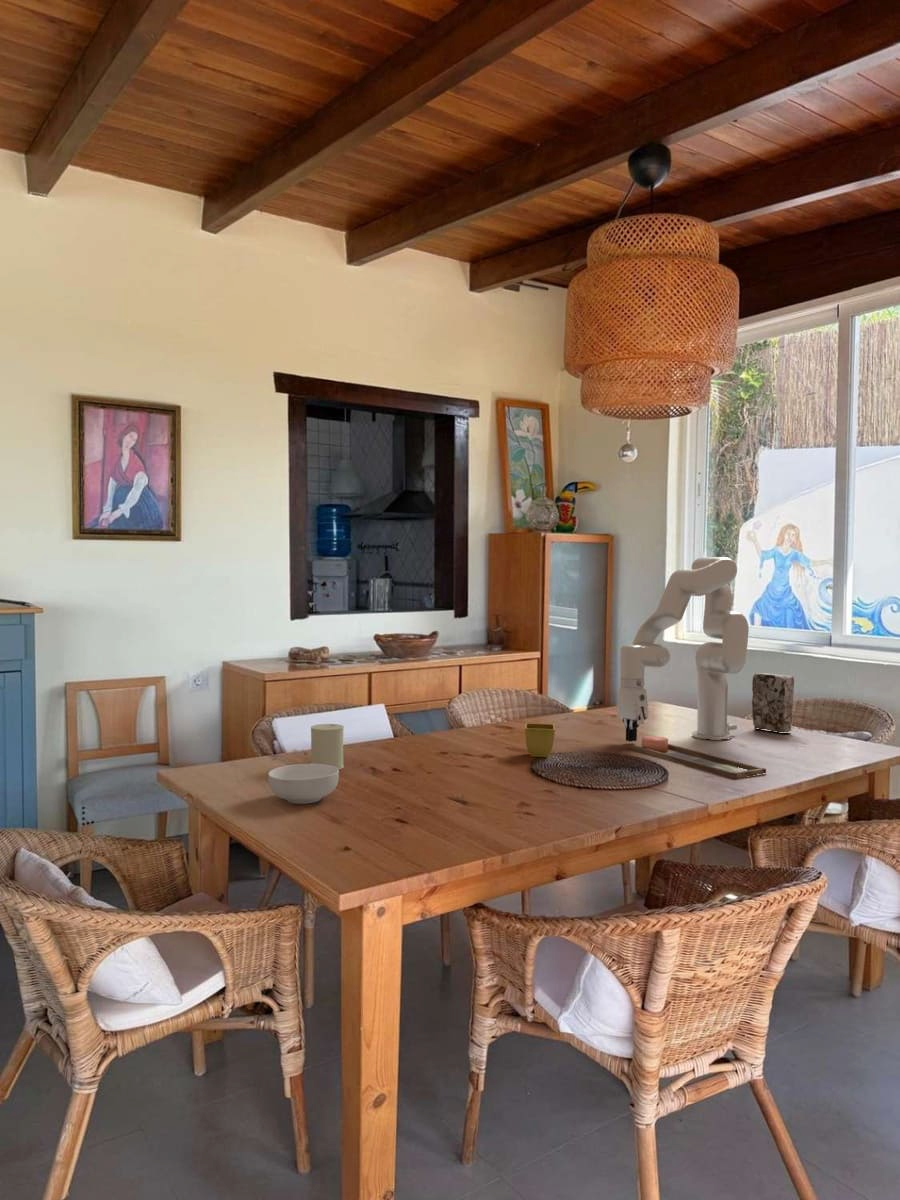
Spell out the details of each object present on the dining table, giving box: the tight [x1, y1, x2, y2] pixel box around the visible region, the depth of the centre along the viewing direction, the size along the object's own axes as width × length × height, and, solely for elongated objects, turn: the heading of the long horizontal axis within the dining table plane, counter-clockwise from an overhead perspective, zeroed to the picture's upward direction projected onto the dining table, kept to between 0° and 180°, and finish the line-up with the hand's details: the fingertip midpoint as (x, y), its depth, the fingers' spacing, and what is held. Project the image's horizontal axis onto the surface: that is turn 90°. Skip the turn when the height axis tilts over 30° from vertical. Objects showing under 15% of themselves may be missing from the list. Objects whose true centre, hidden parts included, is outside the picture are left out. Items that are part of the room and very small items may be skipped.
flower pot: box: [524, 722, 556, 758], centre depth 265 cm, size 9×9×9 cm
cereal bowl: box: [267, 763, 340, 805], centre depth 214 cm, size 17×17×7 cm
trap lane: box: [626, 743, 767, 780], centre depth 259 cm, size 12×44×2 cm, turn 29°
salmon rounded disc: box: [641, 735, 669, 753], centre depth 273 cm, size 8×8×4 cm
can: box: [310, 723, 345, 771], centre depth 247 cm, size 9×9×12 cm
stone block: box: [751, 672, 795, 732], centre depth 306 cm, size 13×7×20 cm, turn 42°
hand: (631, 740), depth 283 cm, fingers closed
